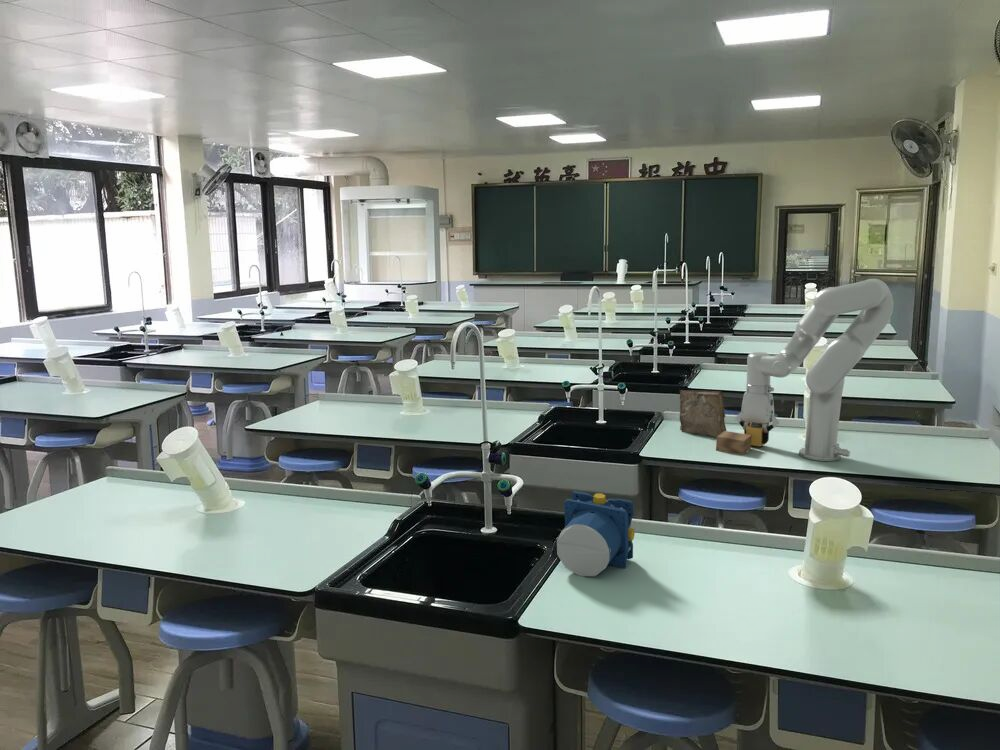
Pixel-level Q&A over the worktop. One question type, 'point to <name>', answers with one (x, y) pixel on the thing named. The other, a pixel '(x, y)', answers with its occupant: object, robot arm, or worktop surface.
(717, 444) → the specimen box
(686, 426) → the mineral sample
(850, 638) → the worktop surface
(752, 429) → the canister
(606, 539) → the valve
